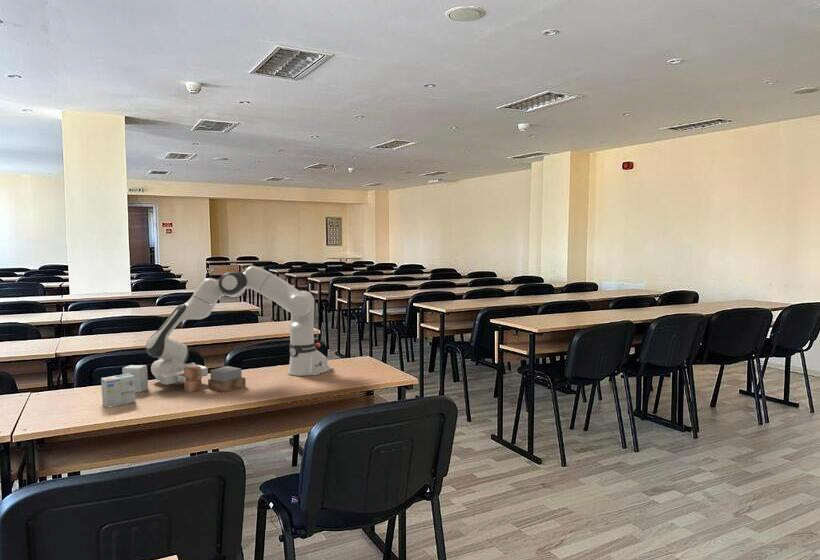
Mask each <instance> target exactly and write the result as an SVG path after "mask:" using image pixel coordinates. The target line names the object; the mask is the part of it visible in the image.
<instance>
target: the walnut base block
mask: <svg viewBox="0 0 820 560" xmlns="http://www.w3.org/2000/svg"><path fill="white" fill-rule="evenodd" d="M241 377H242V378H238V379H235V380H231V381H227V382H221V381H216V380H211V378H208V380H207V386H208V387H207V389H208V388H209V390H212V389H213V390H212V391H215V390H217V391H216V392H219V391H221V392H220V393H223V392H225V393H228V392H227V391H229V392H231V390H232V391H236V390H239V388H240V389H243V388H242V387H244V388H246V386H247V385H246V377H244V376H241ZM235 389H236V390H235Z"/></svg>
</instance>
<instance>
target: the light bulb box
mask: <svg viewBox="0 0 820 560" xmlns="http://www.w3.org/2000/svg"><path fill="white" fill-rule="evenodd" d="M100 383H101V385H100V386H101V398H102V399H101V401H102V405H103V404H104V405H105V406H106V408H107V407H108V408H110V407H109V406H113V407H118V406H117V405H119V406H122V404H124V405H127V404H128V403H129V404H133V403H132V402H134V403H136V402H137V400H136V392H135V378H134V375H131V374H129V373H128V374H119V375H118V374H117V375H112V376H107V377H106V376H105V377H101V378H100ZM104 405H103V406H104ZM105 406H104V407H105Z"/></svg>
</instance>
